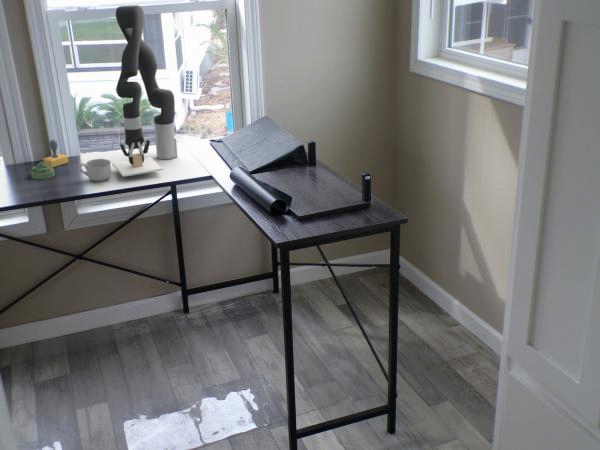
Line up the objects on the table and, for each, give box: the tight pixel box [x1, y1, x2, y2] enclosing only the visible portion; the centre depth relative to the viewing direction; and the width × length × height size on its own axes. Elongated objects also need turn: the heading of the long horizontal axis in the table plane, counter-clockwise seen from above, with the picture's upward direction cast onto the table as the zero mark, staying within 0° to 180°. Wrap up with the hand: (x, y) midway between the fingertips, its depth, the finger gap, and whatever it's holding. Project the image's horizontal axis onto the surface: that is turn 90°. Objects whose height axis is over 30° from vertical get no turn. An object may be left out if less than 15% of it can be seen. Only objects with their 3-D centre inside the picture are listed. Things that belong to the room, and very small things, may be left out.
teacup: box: [77, 158, 112, 183], centre depth 296 cm, size 14×11×8 cm
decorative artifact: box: [30, 160, 56, 180], centre depth 300 cm, size 10×7×10 cm
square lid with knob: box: [111, 152, 164, 178], centre depth 304 cm, size 18×18×6 cm
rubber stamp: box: [42, 139, 69, 168], centre depth 315 cm, size 10×6×12 cm, turn 150°
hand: (136, 163), depth 304 cm, fingers closed on square lid with knob, 4 cm apart
